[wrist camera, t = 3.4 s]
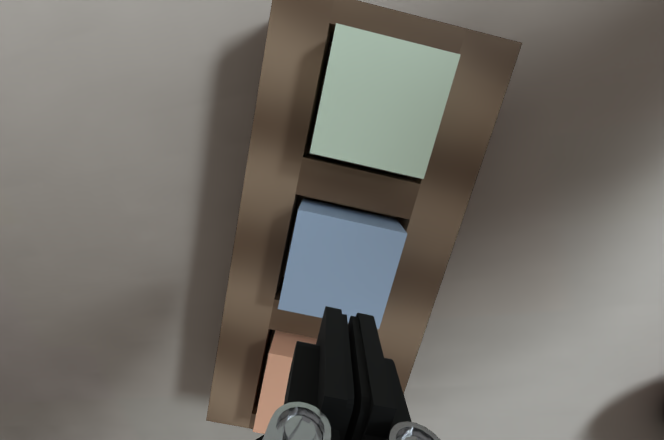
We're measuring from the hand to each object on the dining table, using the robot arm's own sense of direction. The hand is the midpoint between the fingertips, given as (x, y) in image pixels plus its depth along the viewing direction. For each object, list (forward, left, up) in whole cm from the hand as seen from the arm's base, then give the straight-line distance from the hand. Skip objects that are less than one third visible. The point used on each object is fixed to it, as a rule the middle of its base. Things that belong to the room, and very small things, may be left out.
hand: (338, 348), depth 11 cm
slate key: (0, 0, -9) cm, 9 cm away
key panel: (0, 0, -12) cm, 12 cm away
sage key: (-9, 0, -9) cm, 12 cm away
